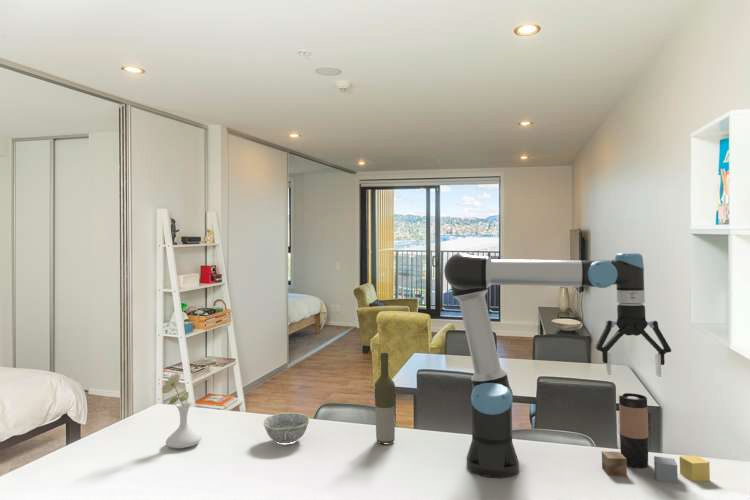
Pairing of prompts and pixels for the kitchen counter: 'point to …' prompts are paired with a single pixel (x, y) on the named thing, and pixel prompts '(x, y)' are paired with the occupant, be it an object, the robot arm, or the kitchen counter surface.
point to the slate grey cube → (665, 469)
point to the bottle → (385, 404)
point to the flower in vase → (184, 433)
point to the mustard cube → (694, 468)
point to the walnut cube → (614, 464)
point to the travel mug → (634, 429)
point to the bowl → (286, 426)
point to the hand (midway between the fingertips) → (633, 374)
